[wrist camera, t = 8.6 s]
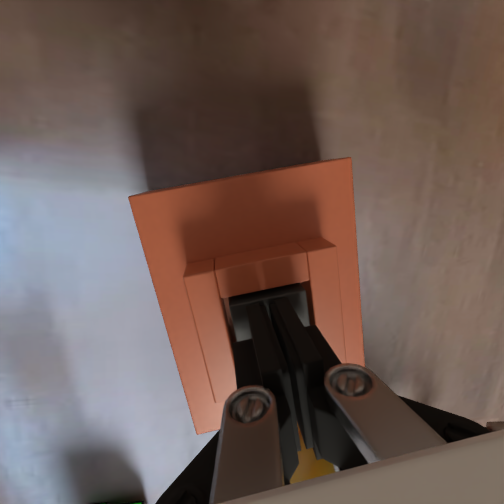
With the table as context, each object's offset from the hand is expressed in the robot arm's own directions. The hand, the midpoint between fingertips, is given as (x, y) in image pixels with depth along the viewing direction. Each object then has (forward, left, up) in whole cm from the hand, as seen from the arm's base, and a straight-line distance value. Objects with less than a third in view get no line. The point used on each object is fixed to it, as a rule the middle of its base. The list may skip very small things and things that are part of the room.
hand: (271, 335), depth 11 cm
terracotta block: (0, 0, -5) cm, 5 cm away
